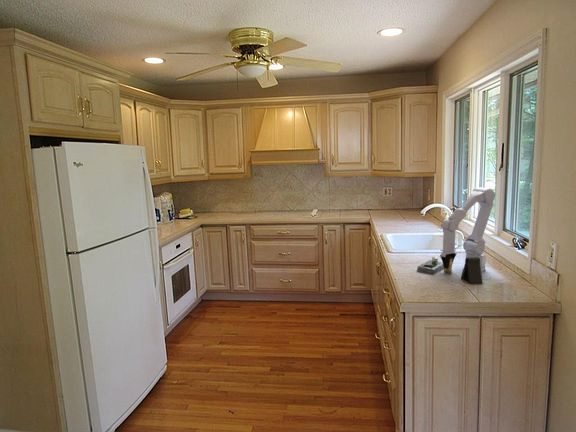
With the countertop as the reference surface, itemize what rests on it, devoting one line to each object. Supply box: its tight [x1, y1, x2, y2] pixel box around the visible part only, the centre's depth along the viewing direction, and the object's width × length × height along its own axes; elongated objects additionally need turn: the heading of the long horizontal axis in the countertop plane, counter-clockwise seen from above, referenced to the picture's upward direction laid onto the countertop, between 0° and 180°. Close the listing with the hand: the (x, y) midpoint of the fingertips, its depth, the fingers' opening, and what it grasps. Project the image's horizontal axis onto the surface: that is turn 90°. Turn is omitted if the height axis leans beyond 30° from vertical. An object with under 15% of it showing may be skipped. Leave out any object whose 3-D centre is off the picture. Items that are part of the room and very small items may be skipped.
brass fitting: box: [443, 258, 453, 275], centre depth 207 cm, size 4×4×8 cm
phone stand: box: [460, 257, 484, 285], centre depth 193 cm, size 9×6×12 cm, turn 6°
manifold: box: [416, 256, 444, 275], centre depth 214 cm, size 9×16×6 cm, turn 137°
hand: (447, 267), depth 207 cm, fingers closed on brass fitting, 4 cm apart
